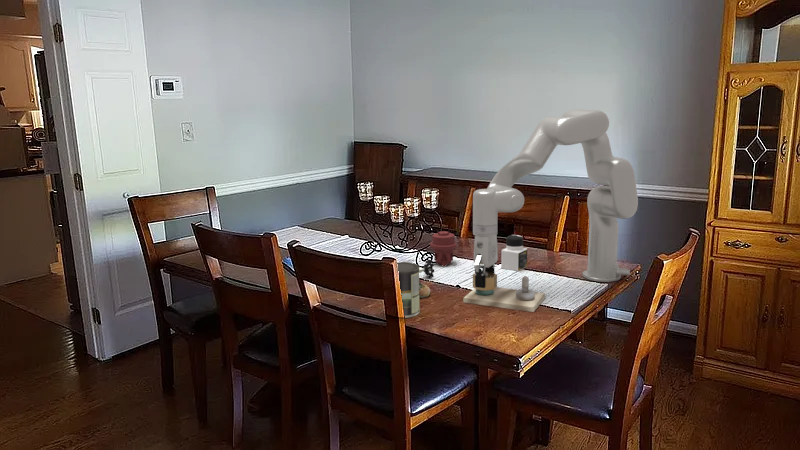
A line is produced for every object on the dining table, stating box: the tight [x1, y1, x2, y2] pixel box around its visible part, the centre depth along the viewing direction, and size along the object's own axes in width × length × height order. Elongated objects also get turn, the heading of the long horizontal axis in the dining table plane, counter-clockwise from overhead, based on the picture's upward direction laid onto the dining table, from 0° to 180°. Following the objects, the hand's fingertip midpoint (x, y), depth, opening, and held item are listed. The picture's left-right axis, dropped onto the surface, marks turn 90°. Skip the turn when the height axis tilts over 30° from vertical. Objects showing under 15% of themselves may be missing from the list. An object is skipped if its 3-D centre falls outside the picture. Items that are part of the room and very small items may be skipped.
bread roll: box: [419, 282, 431, 299], centre depth 201 cm, size 11×11×5 cm
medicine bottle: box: [500, 234, 528, 272], centre depth 227 cm, size 7×7×12 cm
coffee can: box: [396, 261, 421, 319], centre depth 183 cm, size 10×10×14 cm
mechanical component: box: [429, 230, 458, 267], centre depth 234 cm, size 12×10×10 cm
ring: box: [472, 272, 498, 291], centre depth 195 cm, size 7×7×4 cm
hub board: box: [462, 272, 546, 313], centre depth 192 cm, size 22×14×8 cm, turn 63°
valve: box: [407, 259, 435, 279], centre depth 216 cm, size 7×7×12 cm
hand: (484, 283), depth 195 cm, fingers open, 8 cm apart
